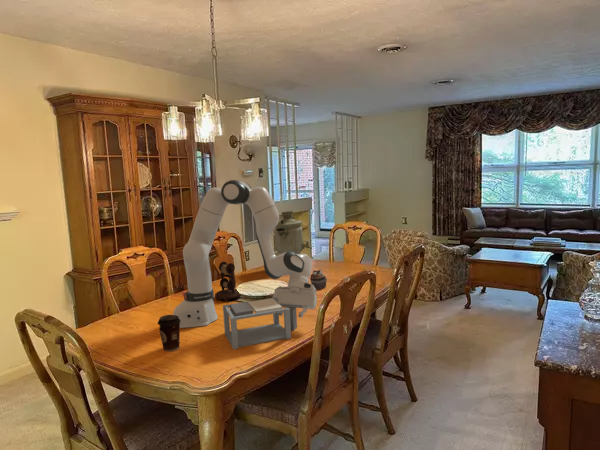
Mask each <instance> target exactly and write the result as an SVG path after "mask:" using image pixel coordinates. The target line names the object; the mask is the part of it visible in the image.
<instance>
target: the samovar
mask: <svg viewBox="0 0 600 450" xmlns="http://www.w3.org/2000/svg"><path fill="white" fill-rule="evenodd" d="M293 213H294V211H293V210H291V211H289V210H288V211H287V210H286V211H280V214H281V215H282V218H283V219H281V220H279V222H278V224H277V226H276V227H275V228H274V230H273V231H274V232H273V233H274V241H275V242H274V243H275V251H276V252H277V253H278V254H279V255H280V254H283V253H285V252H288V251H291V252H294V253H295V254H301V253H302V252H303V250H304V249H305V248H306V249H310V250H312V249H313V247H312V246H311V245H309V242H310V240H308V239H305V240H304V234H303V227H302V225H303V220H298V219H297V220H296V219H295V217H294V216H293ZM304 242H305V243H306V245H305V244H304Z"/></svg>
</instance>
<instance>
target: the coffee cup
mask: <svg viewBox="0 0 600 450" xmlns="http://www.w3.org/2000/svg"><path fill="white" fill-rule="evenodd" d="M156 323H157V325H158V326H159V335H160V340H161V344H162V349H163V351H165V352H175V351H178V350H179V349H180V347H181V346H180V342H181V340H180V338H181V337H180V335H181V334H180V333H181V328H180V319H179V318H178V316H176V315H173V314H166V315H162V316H160V317H159V319H158V321H157V322H156Z"/></svg>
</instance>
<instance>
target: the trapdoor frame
mask: <svg viewBox="0 0 600 450" xmlns="http://www.w3.org/2000/svg"><path fill="white" fill-rule="evenodd" d="M265 299H266V298H264V299H261V300H265ZM268 299H272V297H270V298H268ZM273 299H274V300H275V301H276V302H278V298H277V297H274V298H273ZM259 300H260V299H258V300H255V301H259ZM252 301H253V300H251V301H246V302H247V303H248V302H252ZM222 311H223V312H222V313H223V315H222V316H223V326H224V327H223V328H224V334H225V336H226V339H227V340H228V342H229V344H230V345H231V347H232V350H237V349H239V348H242V347H248V346H253V345H258V344H263V343H267V342H268V343H269V342H274V341H279V340H284V339H286V340H290V339H292V331H291V323H290V309H289V308H287V307H283V308H282V309H279V310H272V311H266V312H260V313H255V312H253V314H248V315H242V316H236V317H235V316H234V315H233V314H232V312H231V311H230V304H222ZM281 312H283V322H284V327H283V326H282V325H281V324H280V315H279V314H278V313H281ZM269 315H272V316H273V317H272V318H273V320H272V321H273V323H270V324H266V325H265V324H264V325H260V326H259V325H258V326H253V327H247V328H243V329H238V324H237V323H238V322H237V321H239V320H244V319H251V318H257V317H263V316H269Z"/></svg>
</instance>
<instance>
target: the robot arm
mask: <svg viewBox="0 0 600 450" xmlns="http://www.w3.org/2000/svg"><path fill="white" fill-rule="evenodd" d="M230 204H231V205H236V206H237V205H244V204H245V205H246V206H248V207H249V209H250V211H251V214H252V216H253V217H254V218H253V219H254V222H255V236H256V239H257V244H258V247H259V250H260V253H261V256H262V261H263V268H264V269H263V270H264V272H265V274H266V276H268V277H269V278H270V279H272V280H278V279H280V278H282V277H284V276H289V279H288V283H287V286H280V285H279V286H278V287H276V288H275V289H274V292H273V294H272V297H271V298H274V297H277V298H278V302H277V303H278V304H279V305H280V306H281V307H282V308H287V307H294V308H296V309H302V310H301V311H299V312H298V317H299V318H303V317H304V314H305V313H306V312H307V311H308V310H309V309H310V310H314V309H316V307H317V303H318V302H317V301H318V297H317V289H315V287H314V286H313V285H312V284H311V283H310V282H309V283H308V281H309V280H310V279H309V278H311V274H312V266H313V265H312V264H313V263H312V258H311V257H310V256H309V255H308V254H306V253H300V254H295V253H294V252H291V251H288V252H285V253H283V254H279V255H276V254H275V250H274V247H273V244H272V241H271V236H272V233H273V231H274V230H275V227H276V226H277V224H278V222H280V213H279V209H278V208H277V206H276V203H275V201H274V199H273V198H272V196H271V194H270V193H269V191H268V190H267V189H266V188H265V187H263V186H256V187H253V188H252V187H251V185H250V184H249V183H247V182H246V181H243V180H238V179H231V180H228V181H225V183H224V184H222V187H221V188H220V187H211V188H209V189H208V190H207V192H206V193H205V195H204V197H203V199H202V202H201V204H200V206H199V209H198V212H197V213H196V216H195V219H194V223H193V227H192V230H191V232H190V236H189V239H188V241H187V242H186V243H185V245H184V246H183V250H182V257H183V263H184V268H185V273H186V281H187V291H186V290H184V291H182V294H181V295H182V296H183V300H182V301H181V302H180V303H179V304H177V306H175V308H174V310H173V313H172V315H176V316H178V318H179V319H180V329H185V328H195V327H204V326H205V327H206V326H208V325H209V324H211V323H212V322H215V321H216V320H217V319H219V317H218V314H217V312H216V306H215V302H214V300H215V294H214V292H215V291H214V288H213V281H212V271H211V267H210V266H211V265H210V258H209V254H210V252H211V250H212V246H213V243H214V241H215V238H216V236H217V232H218V230H219V227H220V224H221V222H222V220H223V216H224V214H225V210H226V208H227V207H228V205H230ZM278 314H279V317H280V316H284V312H281V313H278Z"/></svg>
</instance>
